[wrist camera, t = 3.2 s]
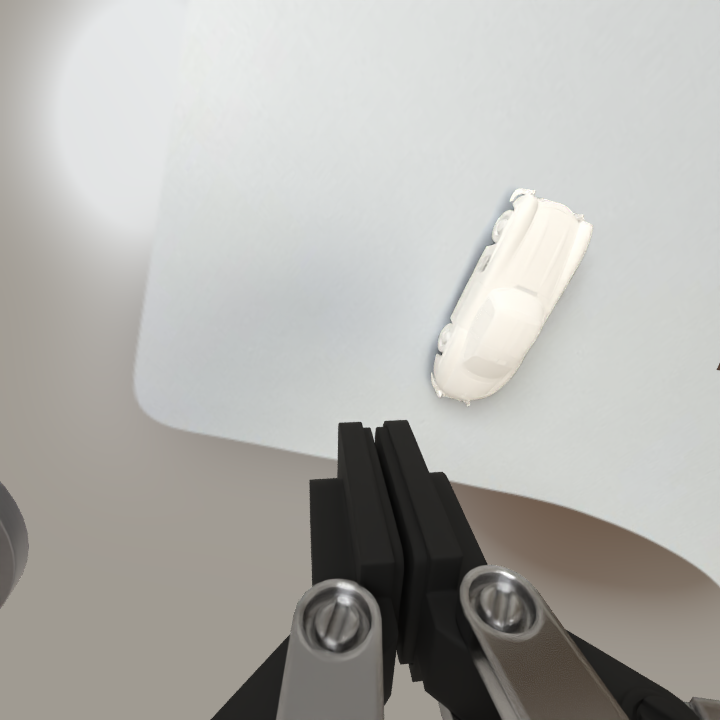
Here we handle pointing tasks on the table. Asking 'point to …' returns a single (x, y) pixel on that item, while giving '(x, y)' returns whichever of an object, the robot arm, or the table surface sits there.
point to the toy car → (509, 296)
